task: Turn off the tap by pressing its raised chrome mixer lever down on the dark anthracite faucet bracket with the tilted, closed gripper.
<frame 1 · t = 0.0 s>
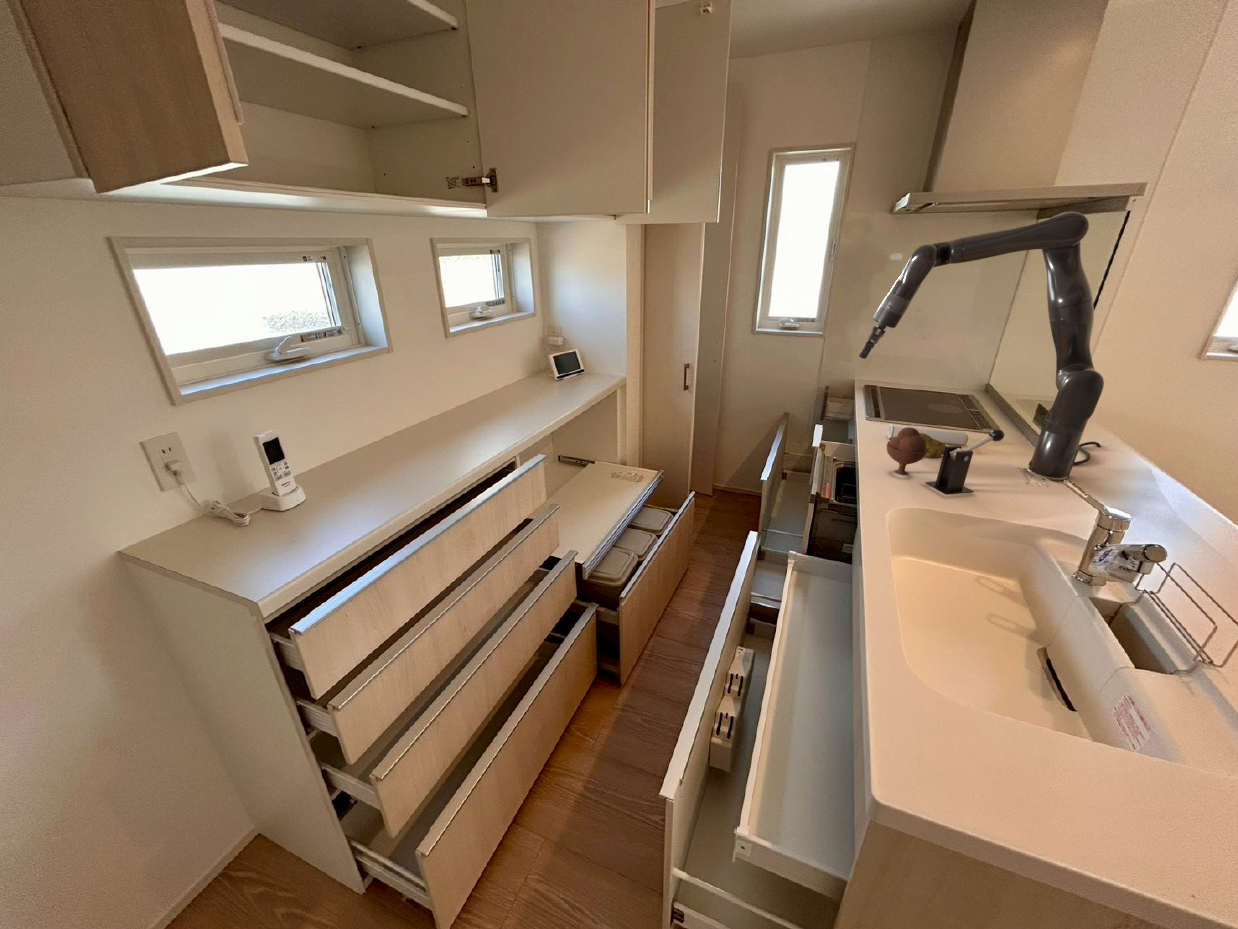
hand: (863, 355, 166), 31 cm above the counter, tool tilted 20°, fingers open, 8 cm apart
lever: (977, 444, 138), point 14 cm above the counter, hinge at 25.0°
tube: (926, 442, 180), on the counter
ice cream bowl: (900, 475, 153), on the counter
faucet: (947, 490, 143), on the counter
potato: (923, 456, 167), on the counter
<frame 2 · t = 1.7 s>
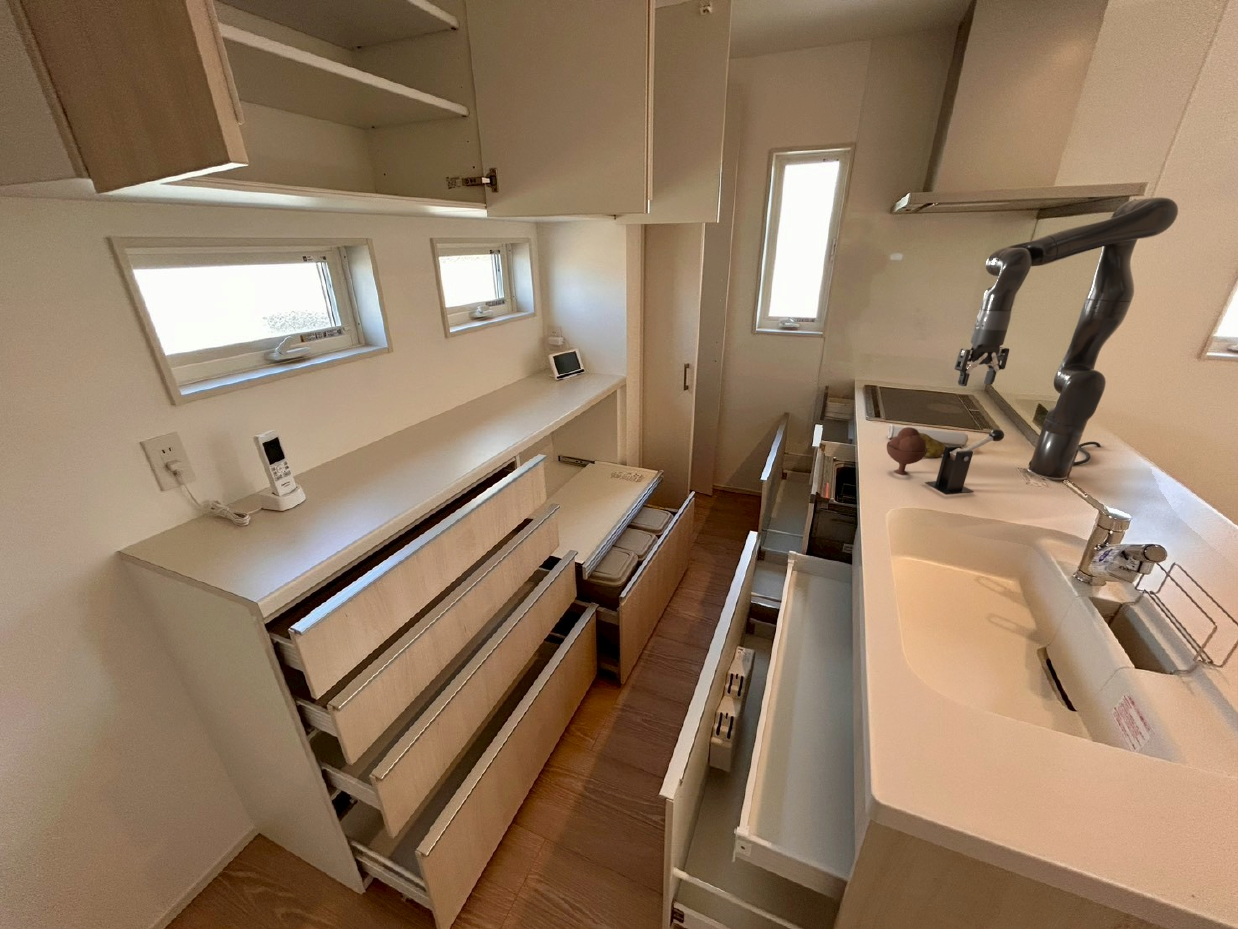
hand: (975, 385, 143), 28 cm above the counter, tool pointing down, fingers open, 8 cm apart
nothing on the counter moved.
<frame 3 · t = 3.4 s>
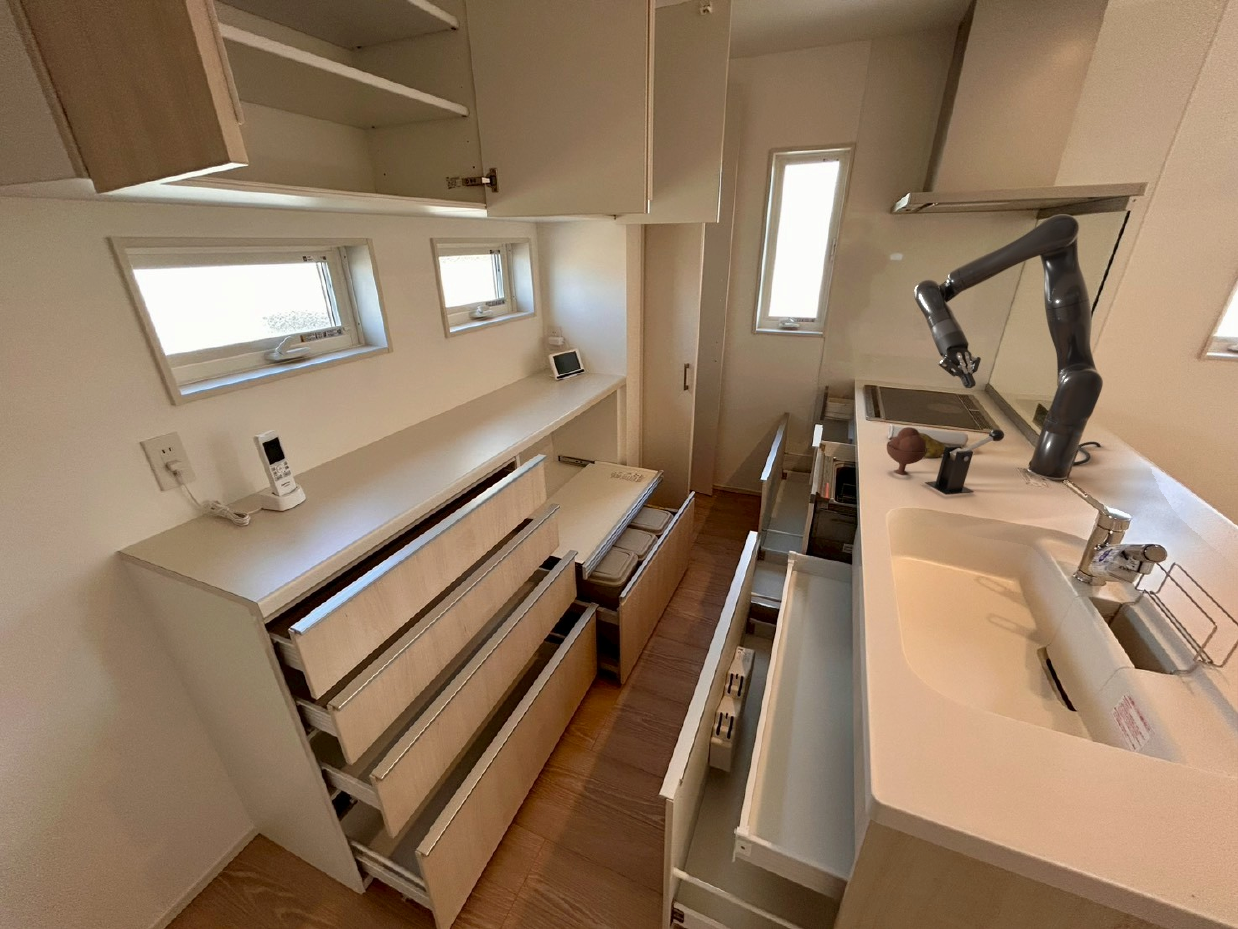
hand: (971, 386, 144), 27 cm above the counter, tool tilted 45°, fingers closed
nothing on the counter moved.
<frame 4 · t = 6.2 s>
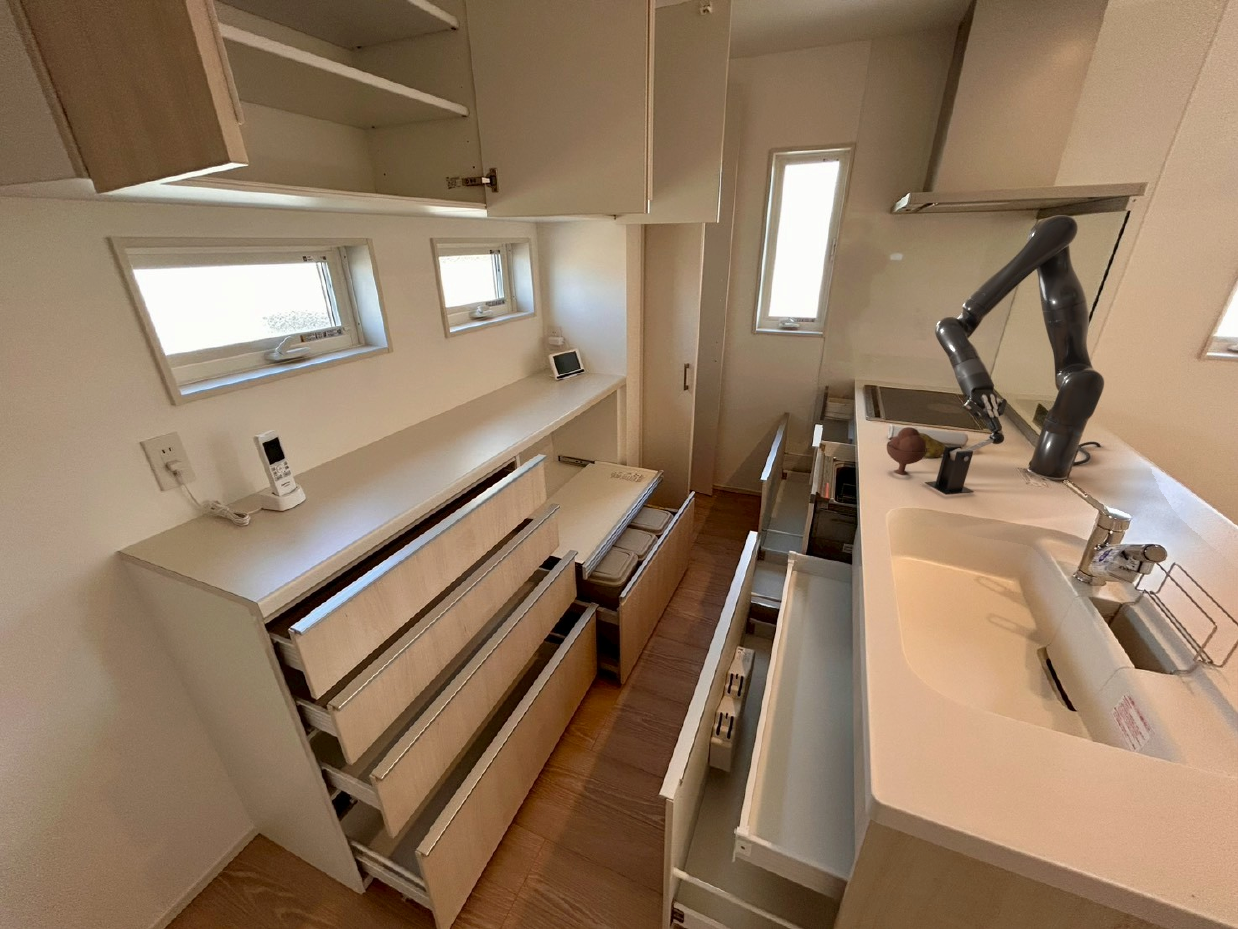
hand: (997, 431, 138), 17 cm above the counter, tool tilted 45°, fingers closed
lever: (977, 446, 138), point 13 cm above the counter, hinge at 20.5°
everything else where it was.
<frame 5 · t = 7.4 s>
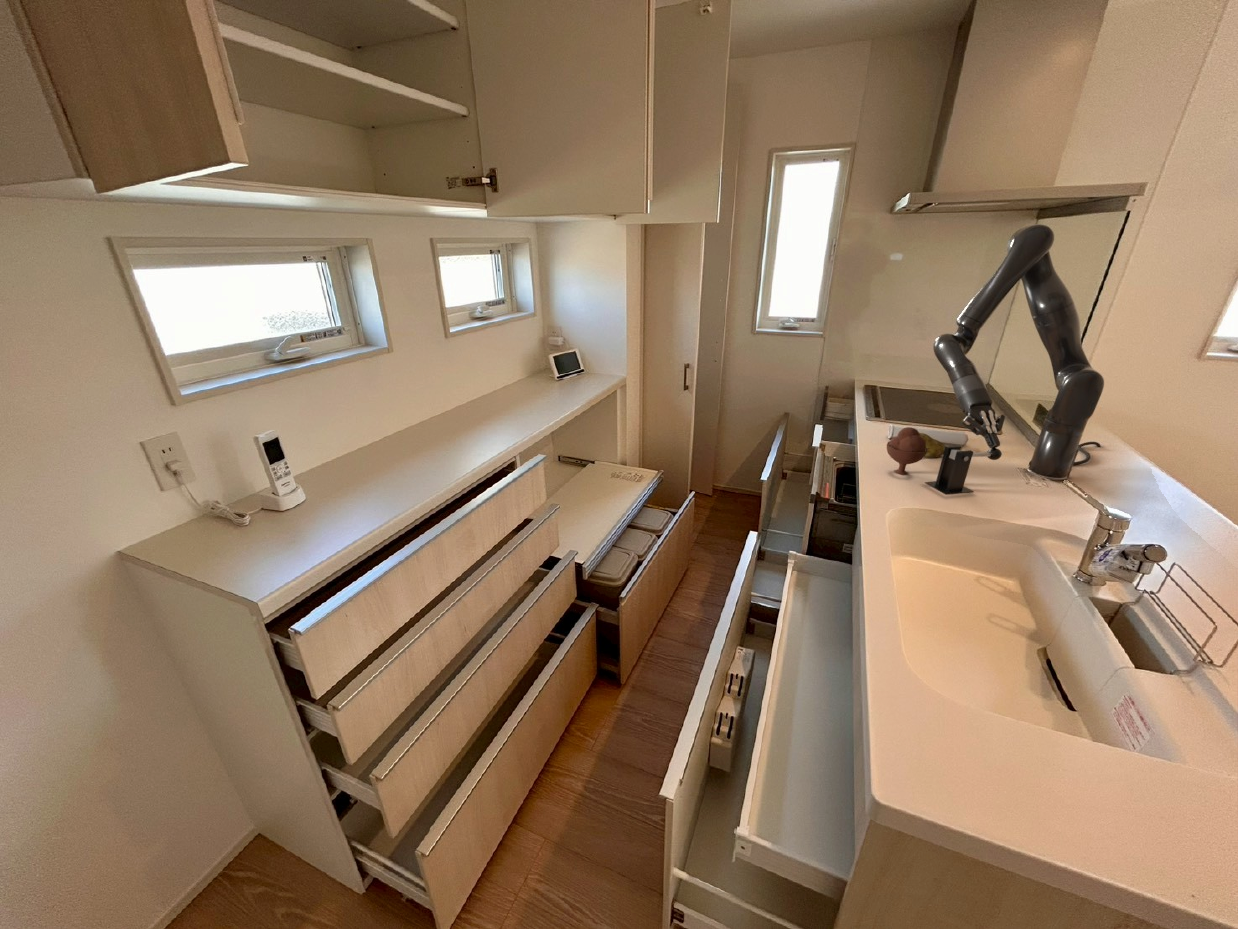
hand: (995, 447, 140), 13 cm above the counter, tool tilted 45°, fingers closed
lever: (976, 454, 139), point 11 cm above the counter, hinge at -2.9°
everything else where it was.
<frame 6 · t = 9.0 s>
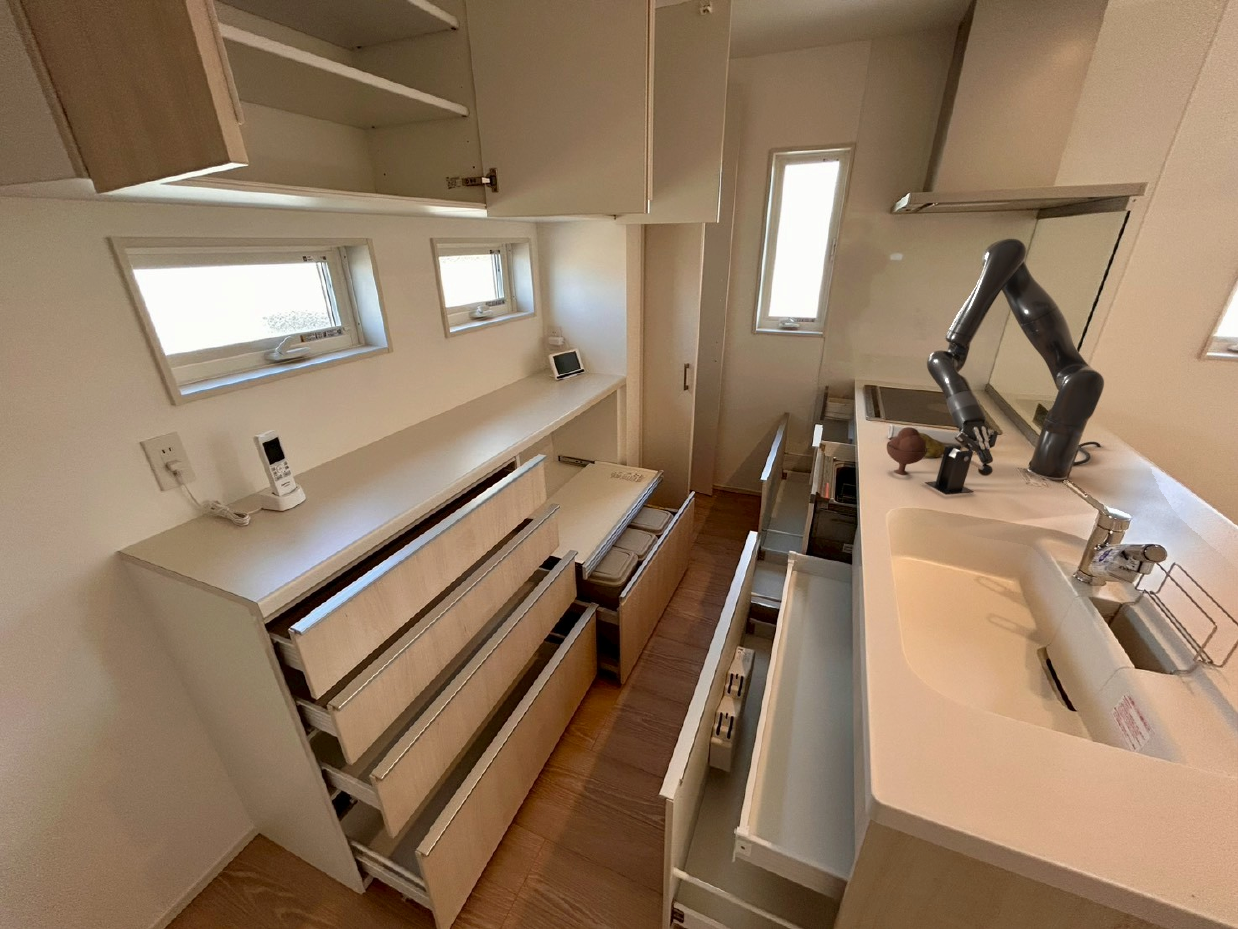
hand: (988, 463, 141), 8 cm above the counter, tool tilted 45°, fingers closed
lever: (972, 462, 140), point 8 cm above the counter, hinge at -27.0°, touching gripper
everything else where it was.
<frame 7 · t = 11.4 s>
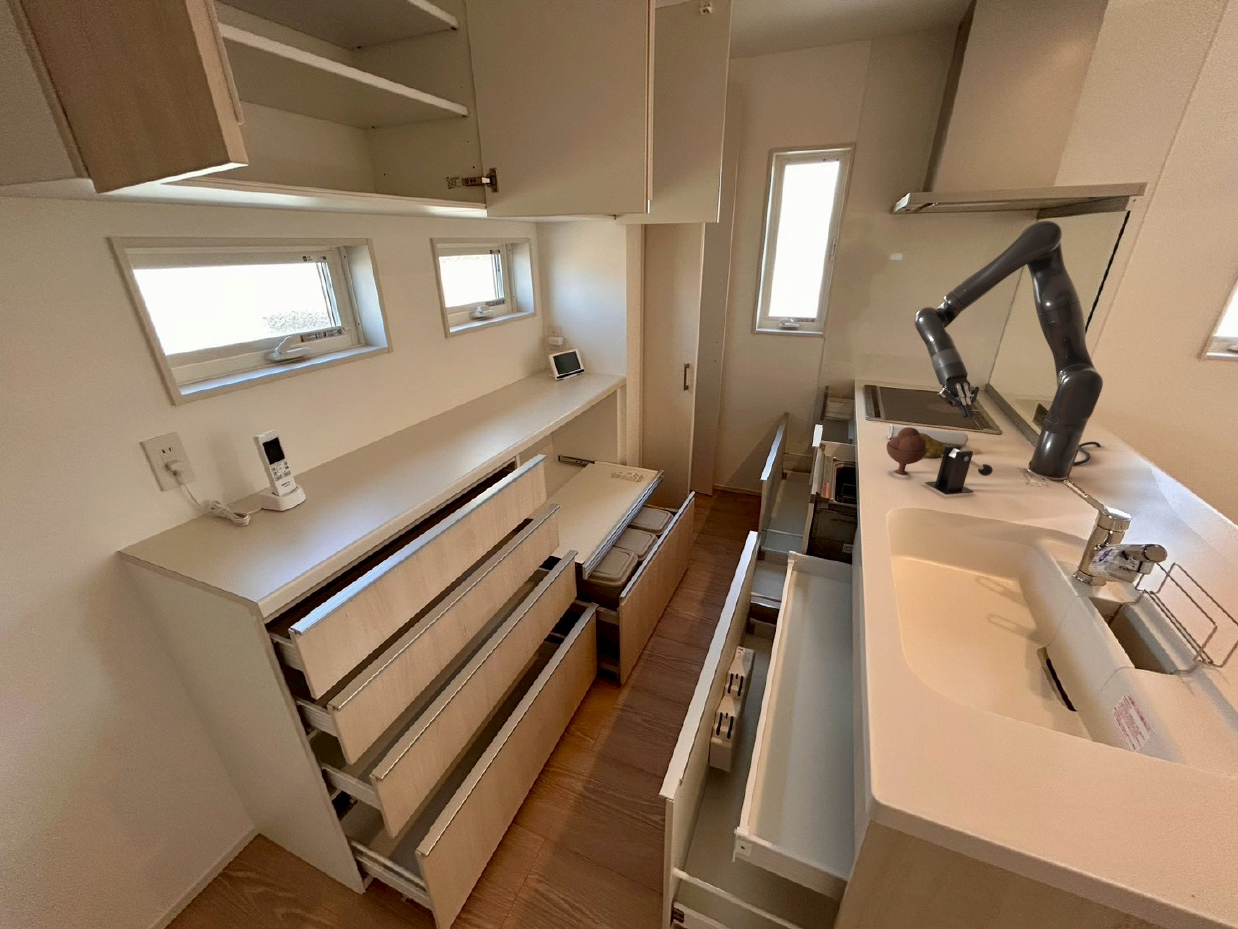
hand: (969, 418, 148), 18 cm above the counter, tool tilted 40°, fingers closed
lever: (972, 462, 140), point 8 cm above the counter, hinge at -27.0°
everything else where it was.
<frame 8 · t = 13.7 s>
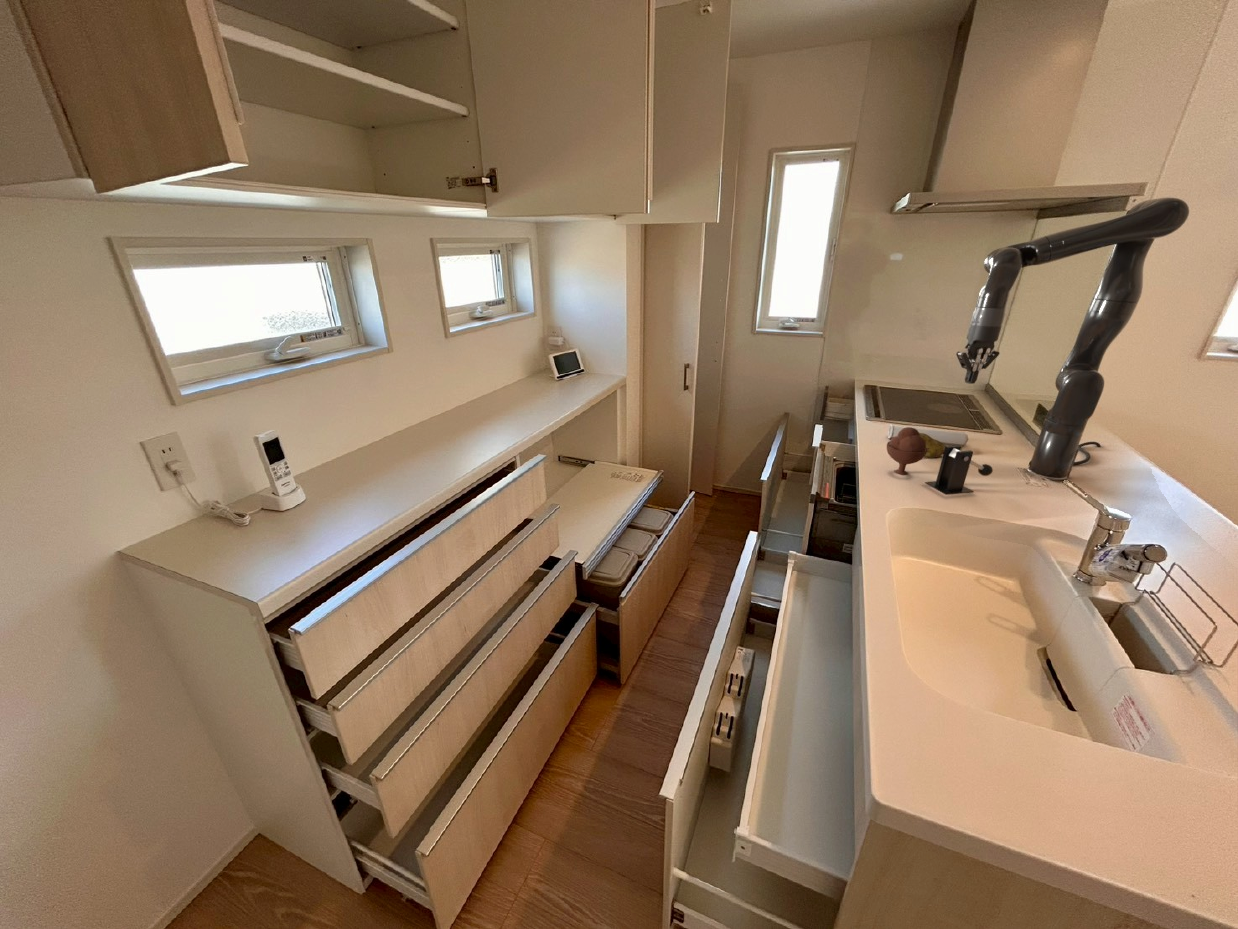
hand: (969, 383, 149), 27 cm above the counter, tool pointing down, fingers closed
nothing on the counter moved.
at the end: lever at -27° (first picture: +25°); lever reached -27° during the clip, -27° at the end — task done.
